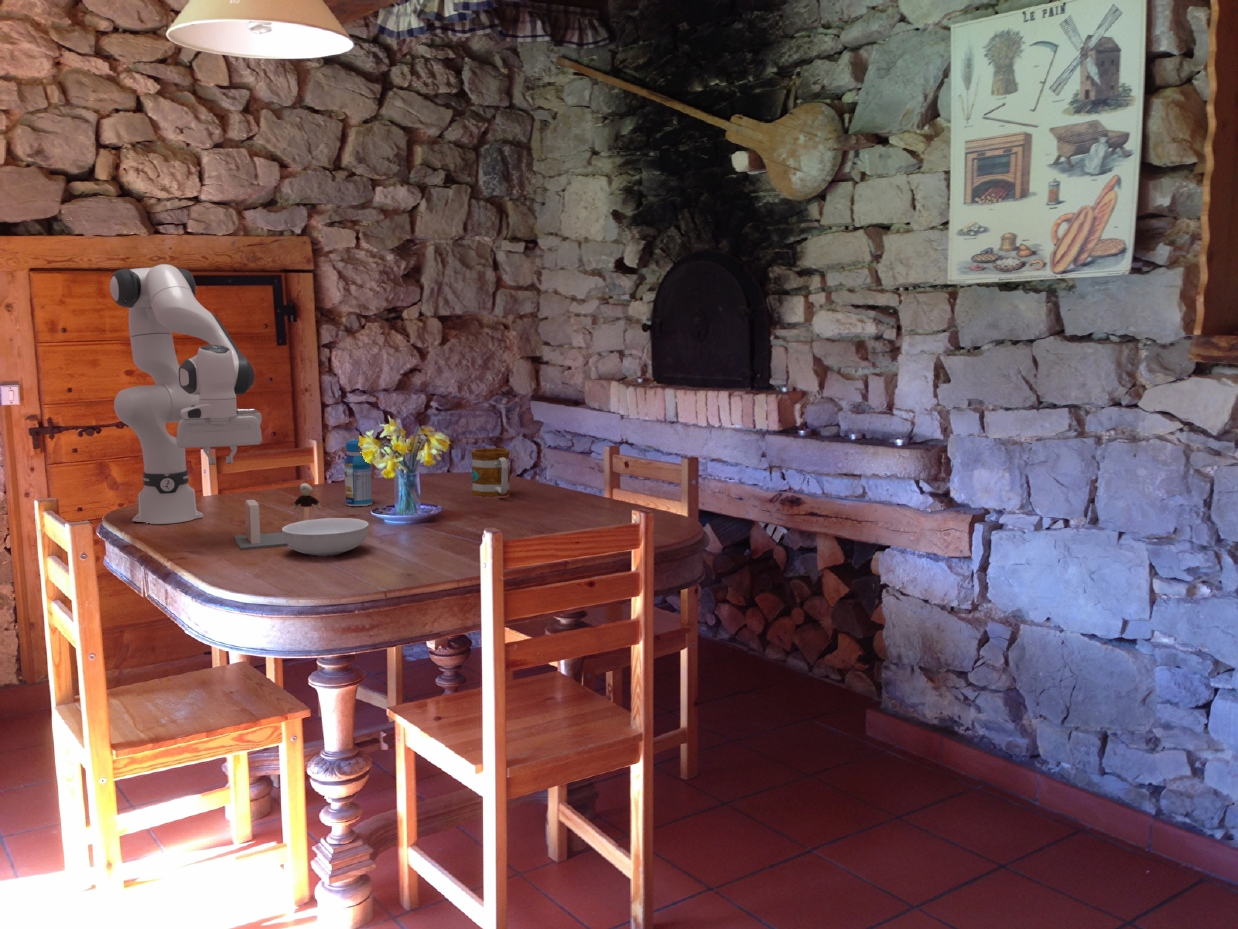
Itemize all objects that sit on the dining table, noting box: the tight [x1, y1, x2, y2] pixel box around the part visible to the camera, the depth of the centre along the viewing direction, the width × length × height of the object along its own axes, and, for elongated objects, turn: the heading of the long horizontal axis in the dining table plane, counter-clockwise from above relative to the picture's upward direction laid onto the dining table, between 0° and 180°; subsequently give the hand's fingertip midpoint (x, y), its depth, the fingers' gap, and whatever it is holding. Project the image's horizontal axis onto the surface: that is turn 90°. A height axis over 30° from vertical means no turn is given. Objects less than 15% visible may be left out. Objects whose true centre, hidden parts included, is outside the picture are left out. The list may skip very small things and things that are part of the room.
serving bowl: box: [281, 517, 370, 557], centre depth 260 cm, size 21×21×7 cm
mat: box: [233, 531, 290, 551], centre depth 272 cm, size 15×16×1 cm
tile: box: [244, 499, 261, 544], centre depth 270 cm, size 8×2×10 cm, turn 27°
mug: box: [470, 447, 511, 497], centre depth 338 cm, size 20×14×15 cm
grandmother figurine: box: [292, 482, 322, 522], centre depth 288 cm, size 8×4×13 cm, turn 105°
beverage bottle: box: [343, 439, 373, 507], centre depth 323 cm, size 8×8×20 cm
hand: (220, 464), depth 264 cm, fingers open, 3 cm apart
